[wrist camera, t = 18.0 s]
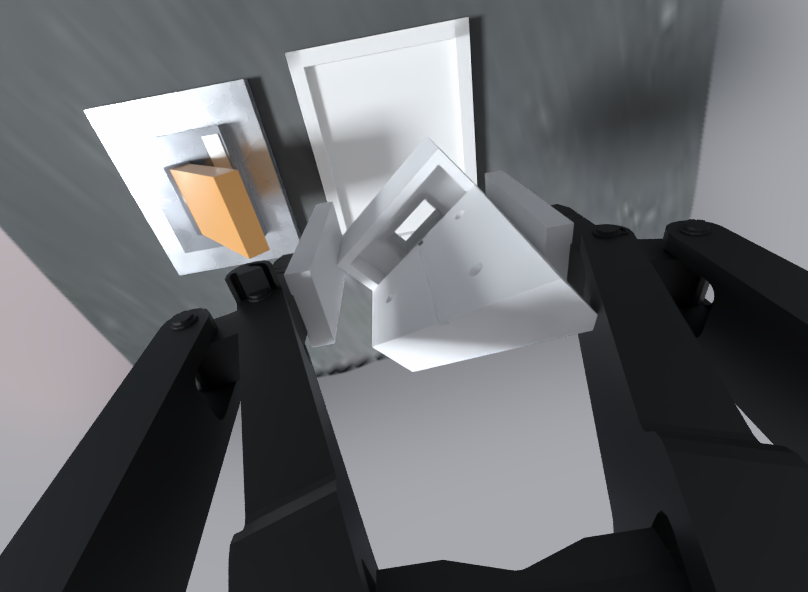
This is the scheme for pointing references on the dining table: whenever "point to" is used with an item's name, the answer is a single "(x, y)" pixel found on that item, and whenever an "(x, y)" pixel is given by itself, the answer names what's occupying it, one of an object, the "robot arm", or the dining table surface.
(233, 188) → the block
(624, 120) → the dining table surface
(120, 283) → the dining table surface
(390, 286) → the white wedge bracket
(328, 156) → the tray
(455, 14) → the dining table surface
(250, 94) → the panel
